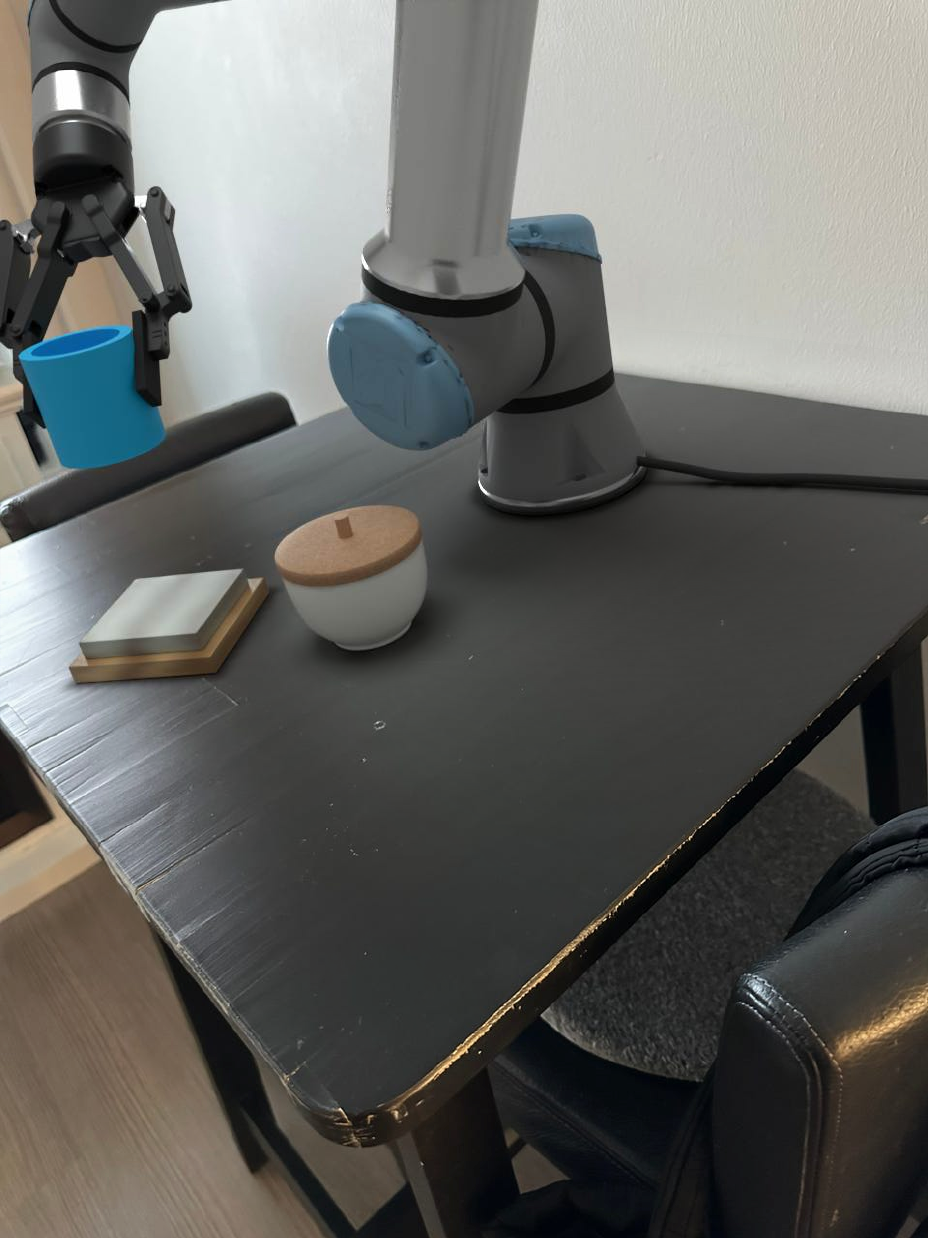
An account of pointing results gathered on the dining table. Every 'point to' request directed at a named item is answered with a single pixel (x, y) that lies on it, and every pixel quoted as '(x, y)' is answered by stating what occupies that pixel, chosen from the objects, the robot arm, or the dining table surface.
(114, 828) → the dining table surface
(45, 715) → the dining table surface
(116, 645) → the pad stack
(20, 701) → the dining table surface
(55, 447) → the mug
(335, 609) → the trinket box
